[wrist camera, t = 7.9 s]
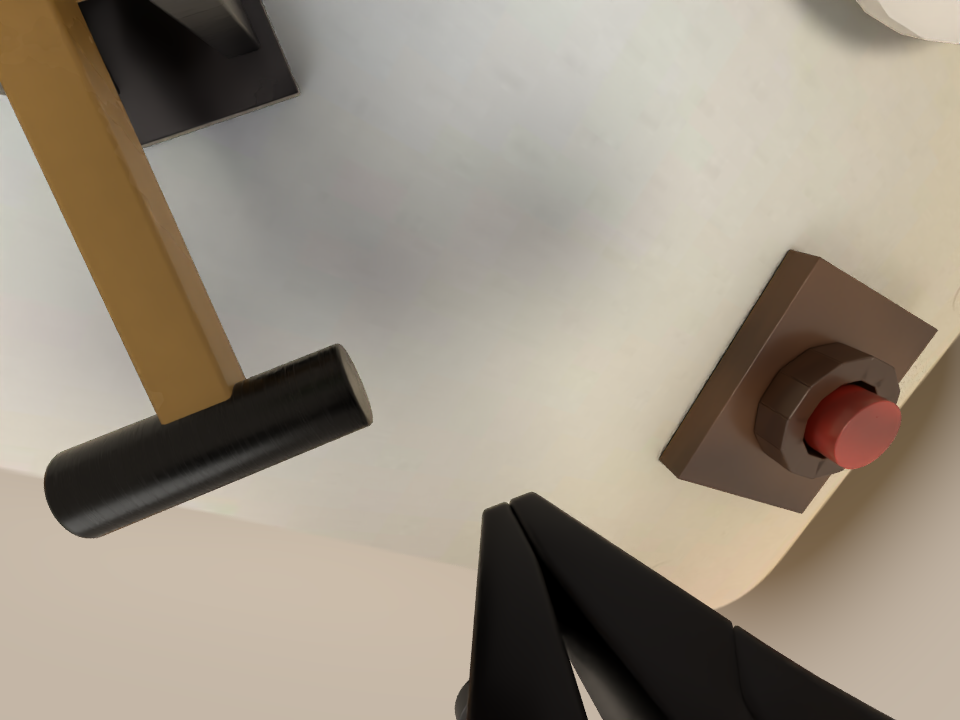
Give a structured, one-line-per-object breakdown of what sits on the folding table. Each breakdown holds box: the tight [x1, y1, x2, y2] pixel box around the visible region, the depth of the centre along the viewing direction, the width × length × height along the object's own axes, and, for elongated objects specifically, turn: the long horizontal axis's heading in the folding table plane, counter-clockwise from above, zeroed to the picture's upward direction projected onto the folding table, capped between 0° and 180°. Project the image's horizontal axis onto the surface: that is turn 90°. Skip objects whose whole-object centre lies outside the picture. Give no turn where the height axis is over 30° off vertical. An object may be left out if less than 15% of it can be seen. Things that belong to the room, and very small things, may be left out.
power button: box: [804, 384, 901, 469], centre depth 24 cm, size 4×4×2 cm
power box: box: [659, 250, 938, 514], centre depth 26 cm, size 12×10×4 cm
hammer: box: [0, 0, 373, 538], centre depth 8 cm, size 11×4×2 cm, turn 17°
